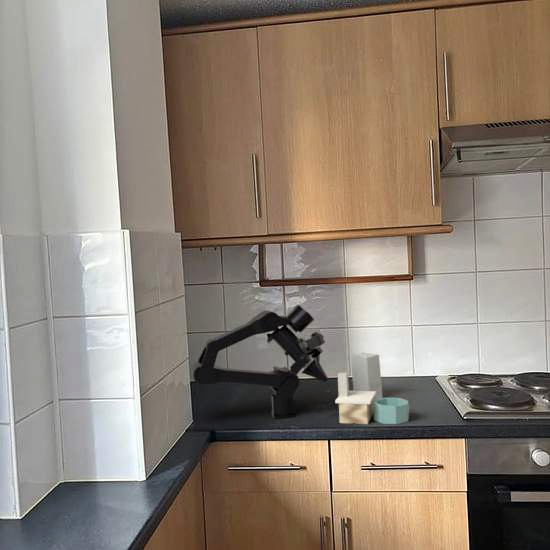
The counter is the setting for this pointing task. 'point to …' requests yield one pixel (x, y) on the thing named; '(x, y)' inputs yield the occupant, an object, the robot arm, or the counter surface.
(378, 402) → the bowl
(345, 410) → the block
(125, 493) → the counter surface
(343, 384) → the lid
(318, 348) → the robot arm
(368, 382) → the skincare box
